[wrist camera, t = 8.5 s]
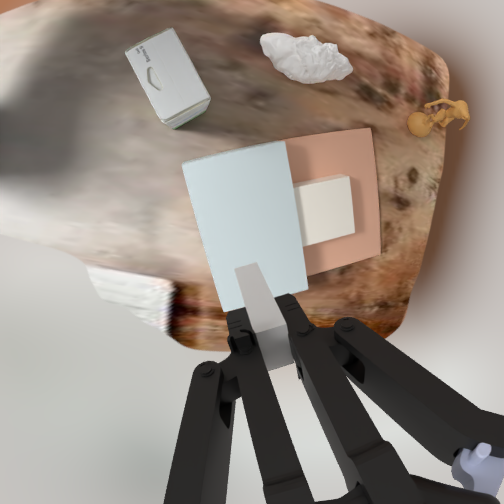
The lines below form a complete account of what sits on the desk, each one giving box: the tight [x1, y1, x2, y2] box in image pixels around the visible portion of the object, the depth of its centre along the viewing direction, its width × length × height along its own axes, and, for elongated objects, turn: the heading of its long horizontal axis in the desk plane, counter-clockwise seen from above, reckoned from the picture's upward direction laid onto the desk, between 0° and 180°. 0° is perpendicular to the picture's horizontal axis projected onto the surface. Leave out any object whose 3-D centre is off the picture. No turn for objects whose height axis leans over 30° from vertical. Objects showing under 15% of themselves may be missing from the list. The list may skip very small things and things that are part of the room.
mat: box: [278, 128, 381, 276], centre depth 40 cm, size 20×14×1 cm
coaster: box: [293, 174, 355, 247], centre depth 38 cm, size 8×8×2 cm
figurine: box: [407, 99, 470, 137], centre depth 31 cm, size 8×6×12 cm
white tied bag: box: [260, 33, 353, 84], centre depth 28 cm, size 12×8×11 cm
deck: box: [182, 141, 308, 312], centre depth 37 cm, size 20×12×4 cm, turn 12°
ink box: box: [125, 27, 211, 129], centre depth 26 cm, size 9×5×12 cm, turn 27°
